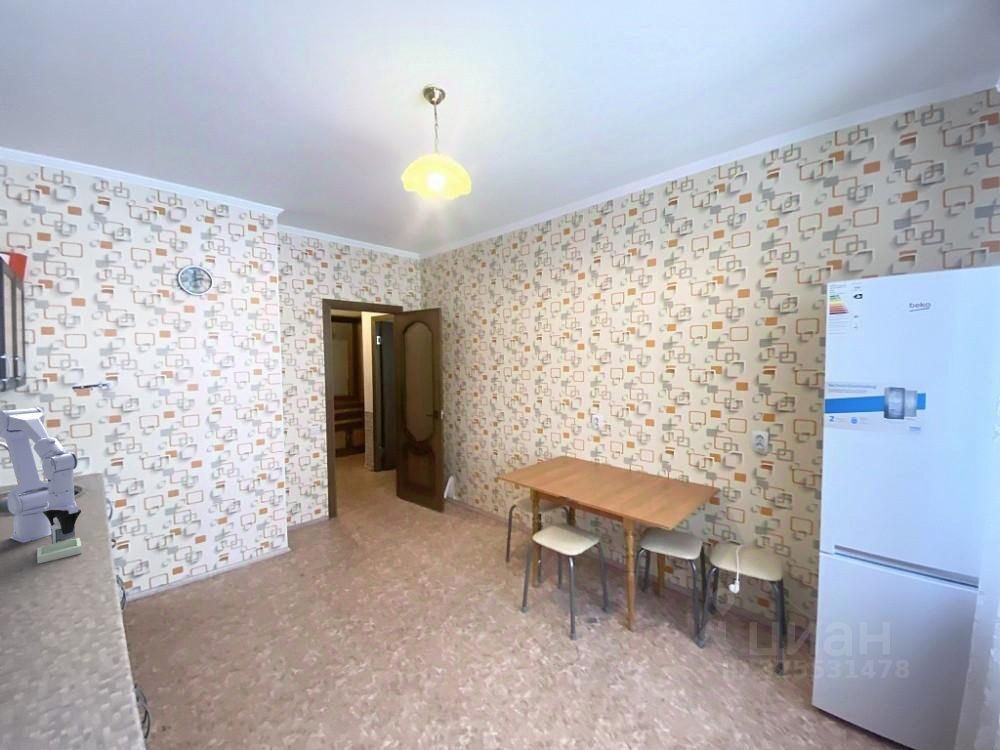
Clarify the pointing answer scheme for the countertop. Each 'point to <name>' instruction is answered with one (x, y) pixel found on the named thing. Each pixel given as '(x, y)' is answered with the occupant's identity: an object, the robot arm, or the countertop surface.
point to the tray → (59, 550)
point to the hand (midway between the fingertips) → (63, 531)
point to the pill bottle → (60, 533)
